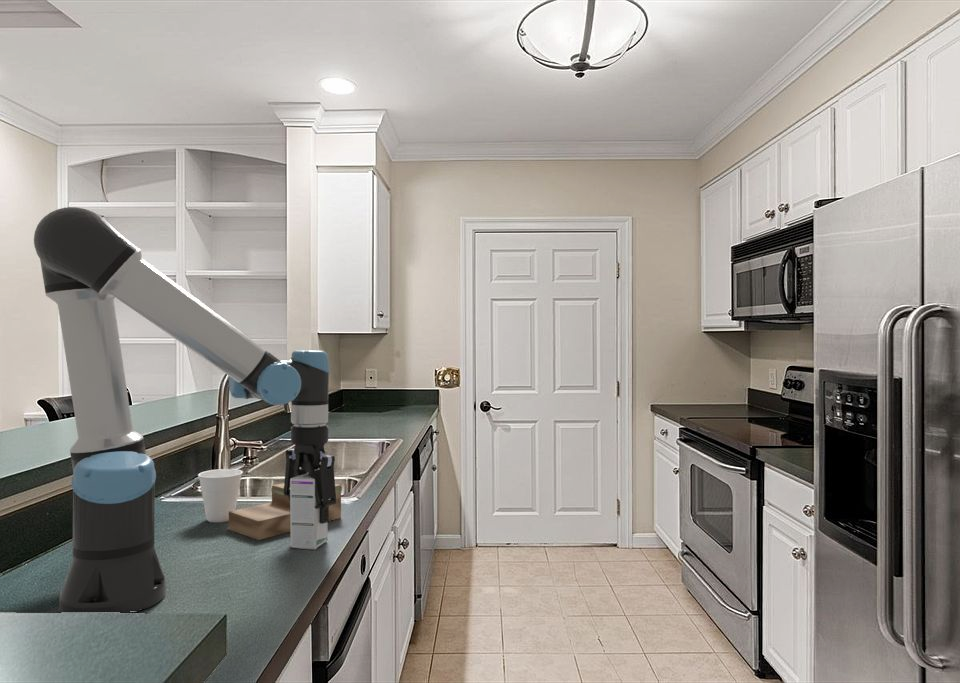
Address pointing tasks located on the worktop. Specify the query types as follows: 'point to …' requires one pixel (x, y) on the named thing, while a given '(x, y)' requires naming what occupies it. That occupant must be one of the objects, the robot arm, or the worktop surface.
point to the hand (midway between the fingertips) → (308, 534)
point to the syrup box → (303, 513)
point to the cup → (220, 492)
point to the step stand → (272, 515)
